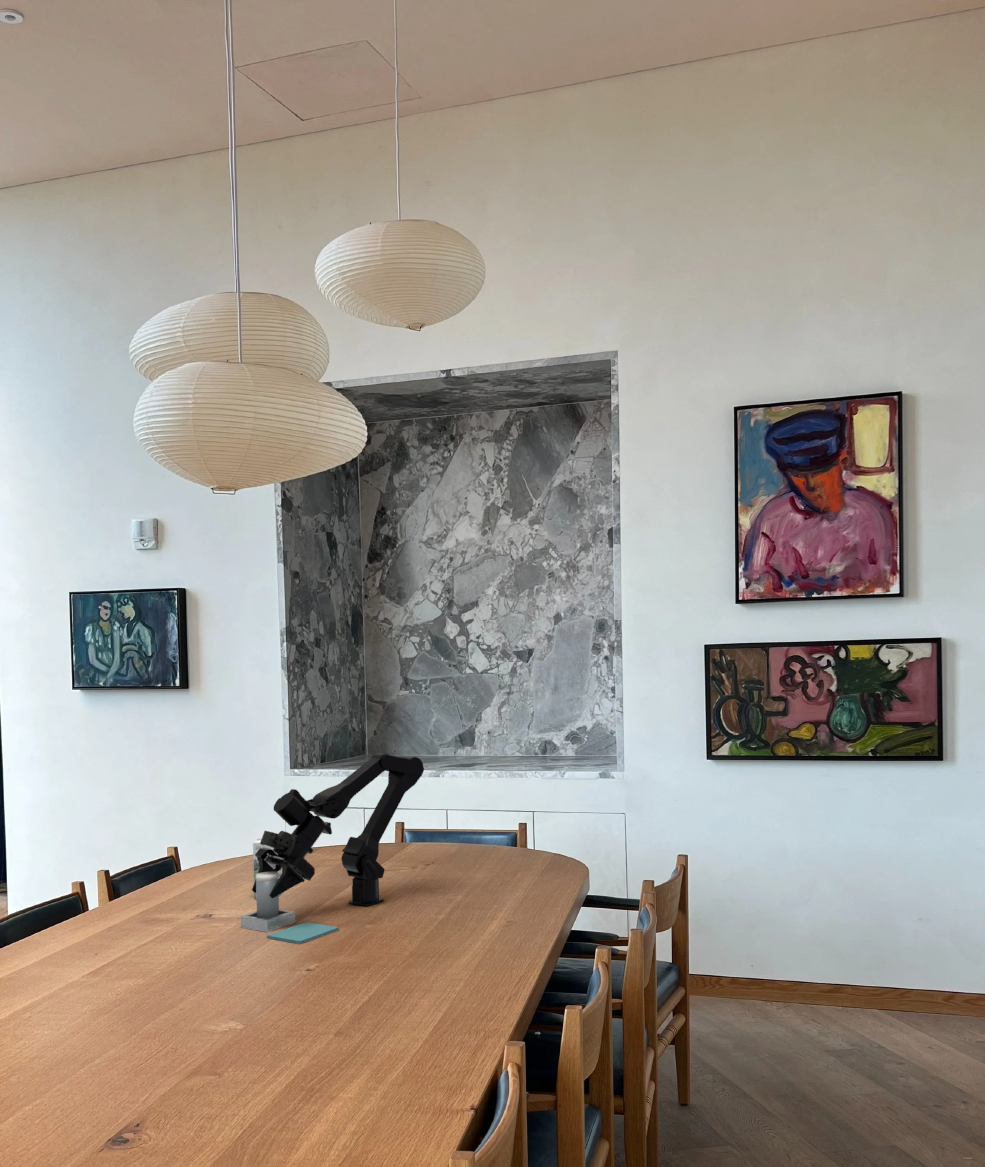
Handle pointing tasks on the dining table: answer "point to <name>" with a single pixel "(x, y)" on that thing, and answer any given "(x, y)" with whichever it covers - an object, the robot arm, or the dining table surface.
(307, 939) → the mat
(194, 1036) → the dining table surface
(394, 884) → the dining table surface
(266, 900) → the ball
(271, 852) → the robot arm
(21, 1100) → the dining table surface
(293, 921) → the collar
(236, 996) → the dining table surface
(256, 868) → the syrup box
